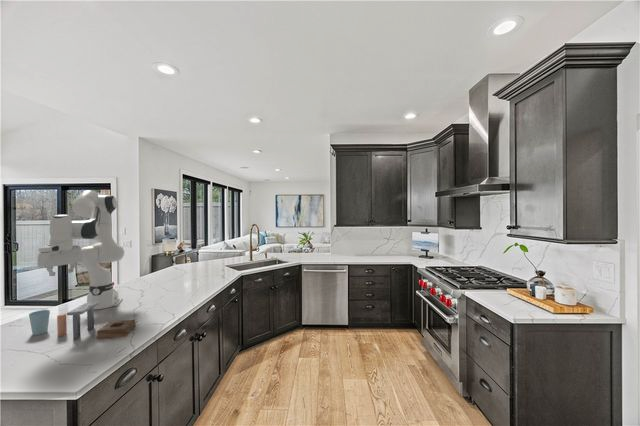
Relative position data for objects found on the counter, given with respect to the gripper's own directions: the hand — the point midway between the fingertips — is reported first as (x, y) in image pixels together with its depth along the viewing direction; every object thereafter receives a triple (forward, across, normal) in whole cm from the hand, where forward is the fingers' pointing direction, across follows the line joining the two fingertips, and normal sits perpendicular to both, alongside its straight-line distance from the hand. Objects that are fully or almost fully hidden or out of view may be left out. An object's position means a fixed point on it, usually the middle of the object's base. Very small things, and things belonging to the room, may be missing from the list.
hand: (61, 274), depth 149 cm
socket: (+30, -2, +28) cm, 41 cm away
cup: (+30, +1, -12) cm, 32 cm away
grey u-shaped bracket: (+30, 0, +12) cm, 32 cm away
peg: (+30, +2, +2) cm, 30 cm away
